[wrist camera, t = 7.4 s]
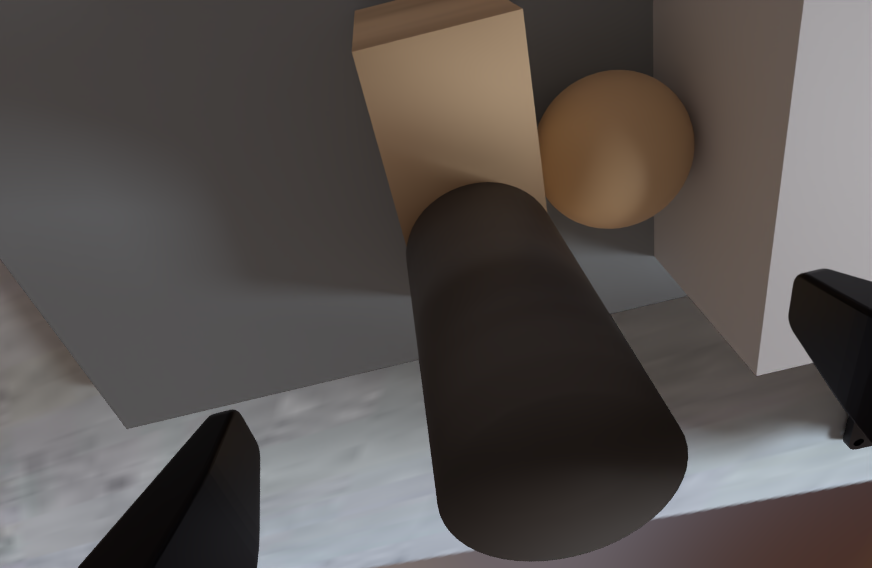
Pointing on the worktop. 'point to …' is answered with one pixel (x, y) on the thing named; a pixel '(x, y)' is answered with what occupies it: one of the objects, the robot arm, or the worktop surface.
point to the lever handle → (505, 298)
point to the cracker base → (369, 189)
